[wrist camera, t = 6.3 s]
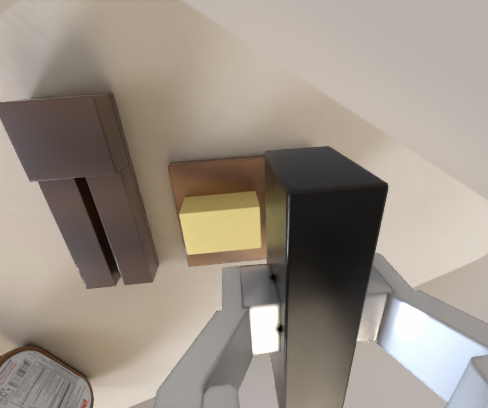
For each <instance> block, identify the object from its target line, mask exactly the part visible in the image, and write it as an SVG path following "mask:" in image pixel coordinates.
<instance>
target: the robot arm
mask: <svg viewBox="0 0 488 408" xmlns="http://www.w3.org/2000/svg"><path fill="white" fill-rule="evenodd" d="M240 277H241V278H240ZM280 325H281V301H280V297H279V293H278V289H277V285H276V282H275V281H274V277H273V270H272V266H271V264H258V265H244V266H240V268H239V266H234V267H223V269H222V310H221V311H216V313H215V314H214V315H213V317H212V318H211V319H210V321H209V322H208V323H207V325H206V326H205V327H204V329H203V330H202V331H201V333H200V334H199V335H198V337H197V338H196V339H195V341H194V342H193V343H192V345H191V346H190V347H189V349H188V350H187V351H186V353H185V354H184V355H183V357H182V358H181V359H180V361H179V362H178V363H177V365H176V366H175V367H174V369H173V370H172V371H171V373H170V374H169V375H168V377H167V378H166V379H165V381H164V382H163V383H162V385H161V386H160V387H159V389H158V390H157V393H156V398H155V403H154V407H153V408H240V407H239V398H238V390H239V388H240V385H241V383H242V381H243V379H244V376H245V374H246V371H247V369H248V367H249V364H250V362H251V359H252V357H253V355H255V354H262V353H270V352H277V351H281V331H280ZM375 341H377V344H378V345H380V346H381V347H382V348H383V349H384V350H385V351H387V352H388V353H389V354H390V355H391V356H393V357H394V358H395V359H396V360H397V361H398V362H400V363H401V364H402V365H403V366H404V367H406V368H407V369H408V370H409V371H410V372H411V373H413V374H414V375H415V376H416V377H417V378H419V379H420V380H421V381H422V382H423V383H424V384H426V385H427V386H428V387H429V388H430V389H432V390H433V391H434V392H435V393H436V394H438V395H439V396H440V397H441V398H442V399H443V400H445V401H446V402H447V405H446V407H445V408H488V323H486V322H484V321H482V320H479V319H477V318H475V317H473V316H471V315H469V314H467V313H465V312H463V311H461V310H459V309H457V308H455V307H453V306H451V305H449V304H447V303H445V302H443V301H440V300H438V299H437V298H434V297H432V296H430V295H428V294H426V293H424V292H422V291H419V290H418V291H414V290H413V289H412V288H411V287H410V285H409V284H408V283H407V282H406V281H405V280H404V279H403V278H402V277H401V276H400V274H399V273H398V272H397V271H396V270H395V269H394V268H393V267H392V266H391V265H390V263H389V262H388V261H387V260H386V259H385V258H384V257H383V256H382V255H381V254H379V253H375V255H374V260H373V265H372V270H371V274H370V279H369V284H368V289H367V294H366V299H365V303H364V308H363V313H362V318H361V323H360V328H359V332H358V337H357V342H356V343H362V342H375Z"/></svg>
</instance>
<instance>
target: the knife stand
mask: <svg viewBox="0 0 488 408" xmlns="http://www.w3.org/2000/svg"><path fill="white" fill-rule="evenodd" d="M0 119H1V121H2V123H3V125H4V128H5V130H6V132H7V134H8V136H9V138H10V140H11V142H12V145H13V147H14V149H15V151H16V153H17V155H18V157H19V159H20V162H21V164H22V166H23V168H24V170H25V172H26V174H27V176H28V179H29V181H30V182H33V181H38V183H39V185H40V188H41V190H42V192H43V194H44V196H45V199H46V201H47V203H48V205H49V207H50V210H51V212H52V214H53V216H54V218H55V221H56V223H57V225H58V227H59V229H60V232H61V234H62V236H63V238H64V240H65V242H66V245H67V247H68V249H69V251H70V253H71V256H72V258H73V260H74V262H75V264H76V267H77V269H78V271H79V273H80V275H81V278H82V280H83V282H84V284H85V286H86V289H91V288H101V287H111V286H116V284H117V282H118V280H119V278H120V276H121V277H122V280H123V282H124V285H130V284H140V283H150V282H153V281H154V278H155V275H156V272H157V268H158V266H159V262H158V258H157V255H156V251H155V247H154V243H153V240H152V236H151V232H150V229H149V225H148V221H147V217H146V214H145V210H144V206H143V203H142V199H141V195H140V191H139V188H138V184H137V180H136V177H135V173H134V169H133V165H132V162H131V158H130V154H129V151H128V147H127V143H126V139H125V136H124V132H123V128H122V125H121V121H120V117H119V114H118V110H117V106H116V102H115V99H114V95H113V93H104V94H90V95H76V96H62V97H48V98H35V99H24V100H15V101H7V102H0Z"/></svg>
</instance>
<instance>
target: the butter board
mask: <svg viewBox="0 0 488 408" xmlns="http://www.w3.org/2000/svg"><path fill="white" fill-rule="evenodd" d="M168 170H169V174H170V179H171V184H172V189H173V194H174V199H175V204H176V209H177V213H178V218H179V223H180V228H181V233H182V238H183V243H184V248H185V252H186V257H187V262H188V266H189V267H190V266H200V265H210V264H220V263H230V262H240V261H251V260H261V259H267V247H266V205H265V163H264V156H252V157H240V158H228V159H216V160H204V161H192V162H180V163H170V164H169V166H168ZM249 191H255V192H256V195H257V198H258V202H259V205H260V222H261V248H254V249H244V250H233V251H223V252H213V253H202V254H192V255H187V250H186V245H185V240H184V236H183V231H182V226H181V221H180V216H179V213H180V210H181V207H182V204H183V200H184V197H193V196H204V195H215V194H227V193H238V192H249Z"/></svg>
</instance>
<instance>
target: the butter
mask: <svg viewBox="0 0 488 408" xmlns="http://www.w3.org/2000/svg"><path fill="white" fill-rule="evenodd" d="M179 216H180V221H181V226H182V231H183V236H184V240H185V245H186V250H187V255H192V254H202V253H213V252H223V251H233V250H244V249H254V248H261V222H260V205H259V202H258V198H257V195H256V192H255V191H249V192H238V193H227V194H215V195H204V196H193V197H184V200H183V204H182V207H181V210H180V213H179Z"/></svg>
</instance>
